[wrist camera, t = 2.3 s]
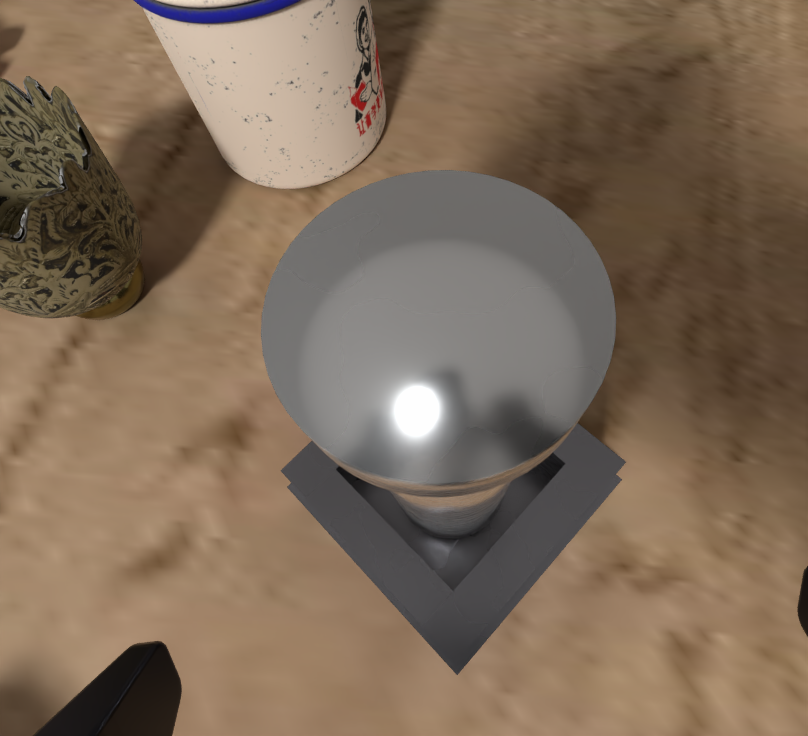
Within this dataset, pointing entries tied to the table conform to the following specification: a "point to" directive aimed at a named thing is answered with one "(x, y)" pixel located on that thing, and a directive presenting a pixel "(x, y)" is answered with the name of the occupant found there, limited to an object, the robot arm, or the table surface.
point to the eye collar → (459, 539)
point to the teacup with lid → (279, 82)
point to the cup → (61, 213)
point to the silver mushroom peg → (439, 338)
